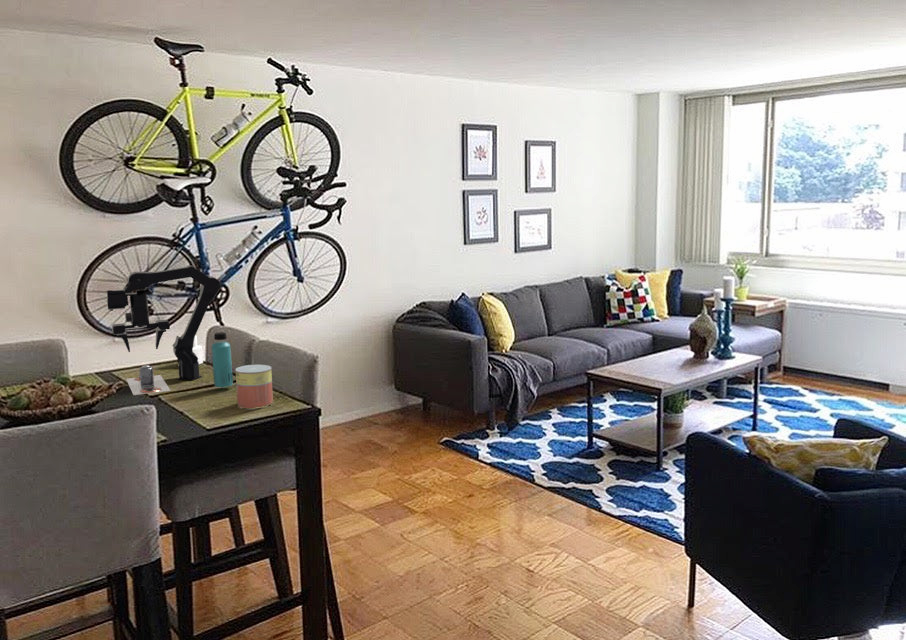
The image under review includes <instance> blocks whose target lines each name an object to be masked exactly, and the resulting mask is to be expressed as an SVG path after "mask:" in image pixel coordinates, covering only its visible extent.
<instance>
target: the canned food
mask: <svg viewBox="0 0 906 640" xmlns="http://www.w3.org/2000/svg"><path fill="white" fill-rule="evenodd" d="M272 369H273V367H272V366H271V365H268V364H261V363H260V364H259V363H258V364H247V365H246V364H245V365H241V366H238V367H236V368H235V380H236V399H237V404H238V406H239V407H242V408H255V407H262V406H266V405H269V404H270V403H272V402H273V403H274V400H273V394H274V393H273V377H272V376H273V375H272V374H273V373H272ZM238 406H237V407H238ZM239 407H238V408H239ZM242 408H241V409H242Z"/></svg>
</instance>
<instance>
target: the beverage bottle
mask: <svg viewBox="0 0 906 640" xmlns="http://www.w3.org/2000/svg"><path fill="white" fill-rule="evenodd" d="M213 338H214V339H213V340H216V342H214V343H213V344H212V345H211V353H212V354H211V355H212V369H213V372H212V376H213V385H214V386H215V387H216V388H228V387H232V386H233V384H234V377H233V365H232V360H233V359H232V351H231V344H230V343H229V342H228V341H223V340H227V339H228V338H227V333H226V332H215V333H214V337H213Z"/></svg>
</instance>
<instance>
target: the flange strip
mask: <svg viewBox="0 0 906 640" xmlns="http://www.w3.org/2000/svg"><path fill="white" fill-rule="evenodd" d="M153 378H154V384H152V385H141V382H140V373H139V374H138V377H131V378H125V381H126V382H127V384H128V387H129V389H130V391H131V393H132V395H133V396H137V395H145V394H155V393H162V392H163V393H164V392H170V391H171V388H169V386H168V383H166V381H165V379H164V378H163V377H162V375H161V374H158V375H153Z"/></svg>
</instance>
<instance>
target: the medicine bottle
mask: <svg viewBox="0 0 906 640" xmlns="http://www.w3.org/2000/svg"><path fill="white" fill-rule="evenodd" d="M192 352H193V353H195V354H196V356H197V357H198V362H199V365H202V364H203V363H204V355H203V353H204V352H203V346H202V345H198V337H197V334H196V335H195V338H194V344H193V349H192ZM176 358H177V357H176ZM179 362H182V361H181V360H180V359H178V358H177V366H179Z"/></svg>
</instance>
